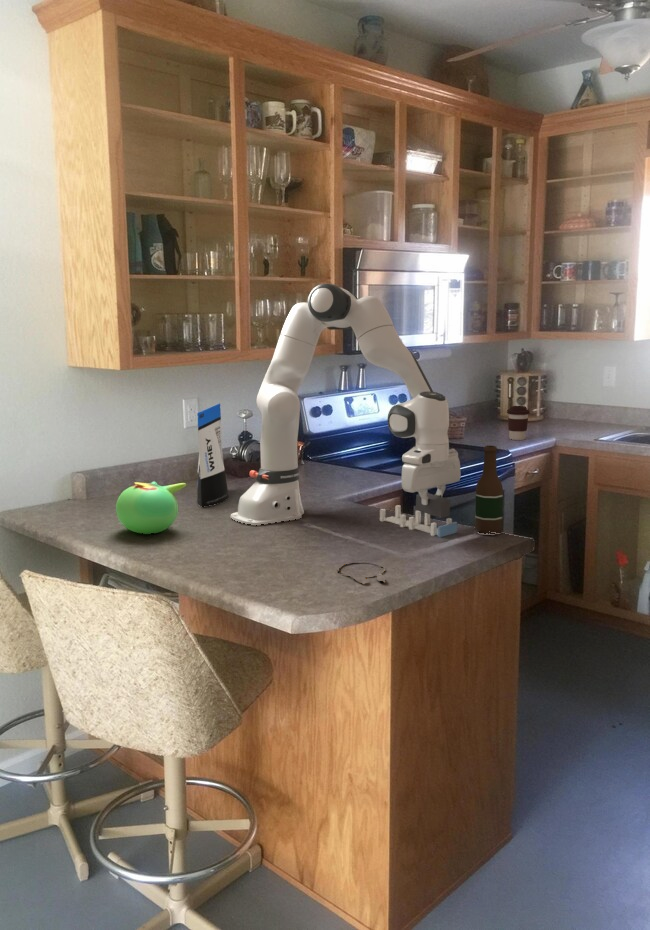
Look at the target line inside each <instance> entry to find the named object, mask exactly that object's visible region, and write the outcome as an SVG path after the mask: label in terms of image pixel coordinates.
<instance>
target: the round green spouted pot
mask: <svg viewBox="0 0 650 930" xmlns="http://www.w3.org/2000/svg"><path fill="white" fill-rule="evenodd" d="M133 483H134V484H135V485H131V486H129V487H127V488H126V489H124V490H123V491H122V492H121V493H120V495H119V496H118V499H117V500H116V503H115V513H116V517H117V518H118V521H119V522H120V524H121V525H123V526H124V528H126V529H128V530H130V531H131V532H134V533H137V534H142V533H143V535H152V534H151V533H154V534H158V533H160V532H163V531H166V530H167V529H169V528H170V527H171V526H172V525H173V524H174V523H175V521H176V519H177V517H178V513H179V504H178V501H177V498H176V497H175V495H174V494H175V493H177V492H178V491H180V490H181V489H183V488H185V487H187V483H185V482H180V483H175V484H169V485H163V486H162V485H159V484H158V483H157V482H156V481H151V482H149V483H148V482H133Z"/></svg>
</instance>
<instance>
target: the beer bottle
mask: <svg viewBox="0 0 650 930" xmlns="http://www.w3.org/2000/svg"><path fill="white" fill-rule="evenodd" d="M497 447H498V446H497V445H496V446H495V445H485V446H484V447H483V451H484V457H483V466H482V467H483V469H482V473H481V476H480V477H479V478H478V480H477V483H476V486H475V502H474V505H475V508H474V512H475V514H474V525H475V526H474V529H475V530H476V531H477V530H478V531H477V532H479V533H484V534H486V533H488V534H489V533H490V534H495V533H491V532H496V533H501V534H502V532H503V507H504V506H503V505H504V504H503V503H504V487H503V484H502V481H501V479H500V477H499V476H498V470H497V466H498V465H497V451H498V448H497ZM489 531H490V532H489Z"/></svg>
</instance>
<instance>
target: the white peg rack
mask: <svg viewBox="0 0 650 930" xmlns="http://www.w3.org/2000/svg"><path fill="white" fill-rule="evenodd" d="M394 509H395V511H394V513H395V514H394V515H395V516H389V517H386V509H385V508H381V509H379V521H380V522H382V523H383V522H389V523H392V524H396V525H399V528H405V527H407V528H408V530H411V531H412V530H413V531H414V530H417V531H422V532H425V533H428V534H430V536H431V537H434V536H437V538H443V537H445V536H449V535H452V534H453V535H454V534H456V533H458V522H457V521H453V518H451V517H448V518H446V520H445V523H446V524H443V525H440V526H439V525H437V522H431V515H430V514H427V513H424V524H421V523H422V512H421V511H418V510H415V516H409V517H408V519H406V517H407V516H406V515H407V514H404V513H403V514H401V513H402V511H401V510H402V507H401V505H400V504H399V505H398V504H397V505H394Z"/></svg>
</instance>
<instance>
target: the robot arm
mask: <svg viewBox="0 0 650 930" xmlns="http://www.w3.org/2000/svg"><path fill="white" fill-rule="evenodd" d="M326 328H327V330H329V331H333V330H334V331H335V330H349V329H352V330H353V332H354V336H355V339H356V340H357V344H358V347H359V348H360V351H361V354H362V355H363V357H364V358H365V360H367V362H369V363H370V364H372V365H373V366H377V367H379V368H383V369H386V370H389V371H391V372H393V373H395V374H396V375H398V376H399V377H400V378H401V379H402V380H403V382H404V384H405V386H406V388H407V390H408V393H409V394H410V396H411V397H412V398H411V399H410V400H406V401H405V402H401V403H397V404H395V405H393V406H391V408H390V409H389V411H388V414H387V418H386V419H387V426H388V429H389V431H390V432H391V434H392V435H393V436H395V437H397V438H401V439H407V438H412V437H413V438H415V445H414V446H413V447H411V448H410V449H409V450H408V451H406V452H405V453H403V454H402V457H401V459H402V460H401V461H402V463H403V465H402V468H401V488H402V489H403V491H404V492H408V493H416V492H418V493H417V494H419V495H420V497H421V498H422V504H423V505H428V504H430V498H428V497H427V494H426V493H429V492H428V490H429V489H433V488H437V490H436V492H435V494H434V495H436V496H440V497H443V495H444V493H445V491H446V485H449V484H453V483H457V482H460V479H461V477H462V475H461V474H462V473H461V461H460V459H459V453H458V451H457V450H456V449H455V448H450V444H449V443H450V441H449V440H450V439H449V436H448V433H449V432H448V431H449V427H450V410H449V403H448V400H447V397H446V396H445V395H443V394H442V393H439V392H437V391H434V390H433V389H432V387H431V384H430V383H429V381H428V379H427V377H426V375H425V373H424V370H423V369H422V367H421V365H420V364H419V362H418V360H417V358H416V356H415V355H414V353H412V352H411V350H410V349H408V347H407V346H406V345H405V344H404V342H403V341H402V339H401V337H400V336H399V334H398V332H397V329H396V327H395V326H394V323H393V320H392V318H391V316H390V314H389V312H388V310H387V308H386V307H385V305H384V304H383V302H382V300H381V299H379V298H378V297H377V296H373V295H366V296H362V297H361V298H358V297H357V296H356V295H354V294H352V293H351V292H350V291H348V290H347V289H345V288H343V287H339V286H338V285H335V284H333V283H327V282H326V283H321V284H318V285H316V286H315V287H314V288H312V289H311V291H310V293H309V295H308V297H307V302H305V301H303V302H298V303H296V304H294V305H293V306H292V307H291V309H290V311H289V313H288V315H287V317H286V318H285V321H284V324H283V326H282V329H281V331H280V334H279V337H278V340H277V343H276V347H275V349H274V352H273V356H272V357H271V358H272V359H271V361H270V364H269V366H268V368H267V371H266V373H265V375H264V377H263V380H262V382H261V385H260V388H259V390H258V393H257V396H256V406H257V409H258V411H259V412H260V414H261V432H260V433H261V434H260V442H259V445H260V446H259V449H260V467H259V469H258V471H257V470H254V469H253V470H250V471H249V476H250V478H255V479H256V481H254V483H253V484H252V485H251V486H250V487H249V488H248V489H247V490H246V491H245V492H244V493H243V494H242V495H241V496H240V497H239V500H238V505H237V511H236V512H233V513H231V514H230V519H231V518H232V519H233V520H232V519H231V520H232V521H234V520H235V521H234V522H237V521H238V522H237V523H239V522H241V523H240V524H243V523H245V524H244V525H247V524H251V525H250V526H256V525H257V526H262V525H261V524H264V525H269V524H268V523H271V524H275V522H277V523H282V522H281V521H284V522H288V521H289V520H290V521H295V519H296V520H301V519H302V517H303V515H304V514H305V511H304V508H303V504H302V503H303V502H302V500H301V499H302V498H301V495H300V493H301V492H300V487H299V481H300V467H299V466H298V465H299V464H298V463H299V461H298V438H299V428H300V427H299V426H300V416H301V415H300V413H301V411H300V410H301V403H300V399H299V398H300V397H299V396H298V395H297V394H298V392H299V390H300V388H301V385H302V383H303V381H304V379H305V377H306V375H307V374H308V372H309V369H310V366H311V364H312V360H313V358H314V354H315V350H316V347H317V345H318V342H319V338H320V335H321V333H322V332H323V330H325V329H326ZM300 518H301V519H300Z"/></svg>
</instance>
